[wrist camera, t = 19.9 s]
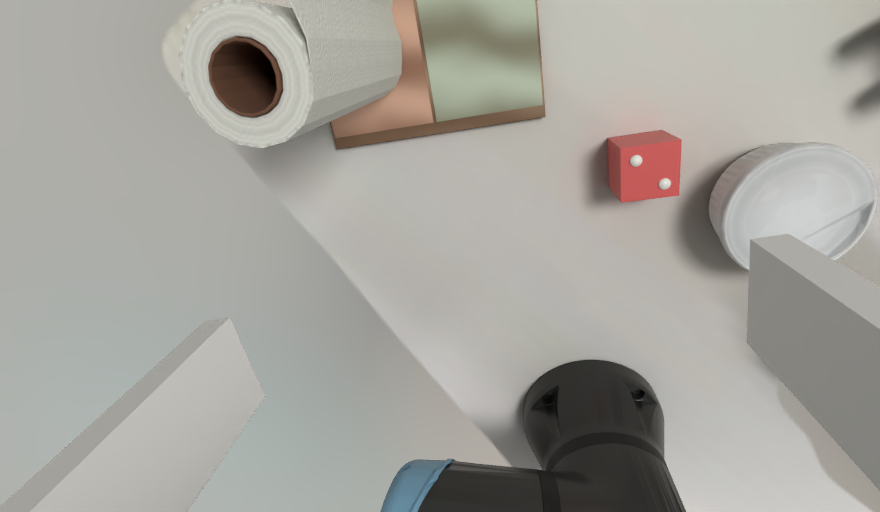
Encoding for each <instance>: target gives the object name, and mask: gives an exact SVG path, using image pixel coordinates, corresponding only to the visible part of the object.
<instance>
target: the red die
mask: <svg viewBox="0 0 880 512" xmlns="http://www.w3.org/2000/svg"><path fill="white" fill-rule="evenodd" d="M680 161H681V139H679V138H677V137H675V136H673V135H671V134H669V133H667V132H665V131H663V130H659V131H652V132H645V133H638V134H631V135H625V136H618V137H611V138H608V173H609V188H610V189H611V191H612V192H613V193H614V194H615V196H616V197H617V198H618V199H619V200H620V202H629V201H637V200H645V199H653V198H662V197H670V196H678V195H679V185H680Z"/></svg>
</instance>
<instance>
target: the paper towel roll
mask: <svg viewBox="0 0 880 512" xmlns="http://www.w3.org/2000/svg"><path fill="white" fill-rule="evenodd" d="M289 2H290V4H291V6H292V8H288V7H282V6H277V5H271V4H266V3H260V2H254V1H246V0H222V1H220V2H217V3H215V4H212V5H209V6H207V7H204V8H202V9H201V11H200V12H199V13H198V14H197V15H196V17H195V18H194V19H193V20H192V21H191V23H190V24H189V25H188V26H187V27H186V29H185V33H184V37H183V41H182V45H181V49H180V53H179V60H180V68H181V76H182V84H183V86H184V88H185V90H186V92H187V94H188V97H189V99H190V101H191V103H192V105H193V107H194V109H195V111H196V112H197V113H198V114H199V115H200V116H201V117H202V118H203V120H204V121H205V122H206V123H207V124H208V125H209V126H210V127H211V128H212V129H213V130H214V131H215V132H216V133H218V134H220V135H222V136H223V137H225V138H227V139H229V140H231V141H233V142H234V143H236V144H238V145H244V146H251V147H258V148H267V147H270V146H274V145H277V144H280V143H284V142H287V141H289V140H291V139H294V138H296V137H298V136H300V135H302V134H304V133H307V132H309V131H311V130H313V129H315V128H317V127H320V126H322V125H324V124H326V123H328V122H330V121H332V120H335V119H337V118H339V117H341V116H343V115H345V114H348V113H350V112H352V111H354V110H356V109H358V108H360V107H363V106H365V105H367V104H369V103H371V102H373V101H376V100H378V99H380V98H382V97H384V96H386V95H387V94H388V93H389V92H390V91H391V90H393V89H394V88H395V87H396V85H397V83H398V80H399V78H400V76H401V74H402V41H401V38H400V36H399V33H398V31H397V28H396V25H395V23H394V17H393V11H392V5H393V0H289Z"/></svg>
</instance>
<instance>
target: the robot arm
mask: <svg viewBox="0 0 880 512" xmlns="http://www.w3.org/2000/svg"><path fill="white" fill-rule="evenodd" d="M747 343H748V345H749V346H750V347H751V348H752V349H753V350H754V351H755V352H756V353H757V355H758V356H759V357H760V358H761V359H762V360H763V361H764V362H765V363H766V365H767V366H768V367H769V368H770V369H771V370H772V371H773V372H774V373H775V375H776V376H777V377H778V378H779V379H780V380H781V381H782V382H783V383H784V385H785V386H786V387H787V388H788V389H789V390H790V391H791V392H792V393H793V394H794V396H795V397H796V398H797V399H798V400H799V401H800V402H801V404H803V406H804V407H805V408H806V409H807V410H808V411H809V412H810V414H811V415H812V416H813V417H814V418H815V419H816V420H817V421H818V422H819V424H820V425H821V426H822V427H823V428H824V429H825V430H826V431H827V432H828V433H829V435H830V436H831V437H832V438H833V439H834V440H835V441H836V442H837V444H838V445H839V446H840V447H841V448H842V449H843V450H844V451H845V452H846V454H847V455H848V456H849V457H850V458H851V459H852V460H853V461H854V462H855V464H856V465H857V466H858V467H859V468H860V469H861V470H862V471H863V473H864V474H865V475H866V476H867V477H868V478H869V479H870V480H871V481H872V483H873V484H874V485H875V486H876V487H877V488H878V489H879V490H880V287H879V286H877V285H875V284H874V283H872V282H870V281H868V280H867V279H865V278H863V277H862V276H860V275H858V274H856V273H855V272H853V271H851V270H850V269H848V268H846V267H845V266H843V265H841V264H839V263H838V262H836V261H834V260H833V259H831V258H829V257H827V256H826V255H824V254H822V253H821V252H819V251H817V250H816V249H814V248H812V247H810V246H809V245H807V244H805V243H804V242H802V241H800V240H798V239H797V238H795V237H793V236H792V235H790V234H782V235H775V236H769V237H762V238H755V239H750V262H749V291H748V320H747ZM264 398H265V395H264V393H263V391H262V389H261V386H260V384H259V382H258V379H257V377H256V375H255V373H254V371H253V368H252V366H251V364H250V361H249V359H248V357H247V355H246V353H245V350H244V348H243V346H242V344H241V342H240V339H239V337H238V335H237V332H236V330H235V328H234V326H233V323H232V321H231V319H230V318H223V319H216V320H210V321H205V322H204V323H203V324H202V325H201V326H199V328H197V329H196V330H195V331H194V332H193V333H192V334H191V335H190V336H188V337H187V338H186V339H185V340H184V341H183V342H182V343H181V344H180V345H178V346H177V347H176V348H175V349H174V350H173V351H172V352H171V353H170V354H168V355H167V356H166V357H165V358H164V359H163V360H162V361H161V362H160V363H159V364H157V365H156V366H155V367H154V368H153V369H152V370H151V371H150V372H149V373H147V374H146V375H145V376H144V377H143V378H142V379H141V380H140V381H139V382H137V383H136V384H135V385H134V386H133V387H132V388H131V389H130V390H129V391H127V392H126V393H125V394H124V395H123V396H122V397H121V398H120V399H119V400H118V401H116V402H115V403H114V404H113V405H112V406H111V407H110V408H109V409H108V410H107V411H105V412H104V413H103V414H102V415H101V416H100V417H99V418H98V419H96V420H95V421H94V422H93V423H92V424H91V425H90V426H89V427H88V428H86V429H85V430H84V431H83V432H82V433H81V434H80V435H79V436H78V437H77V438H75V439H74V440H73V441H72V442H71V443H70V444H69V445H68V446H67V447H65V448H64V449H63V450H62V451H61V452H60V453H59V454H58V455H57V456H55V457H54V458H53V459H52V460H51V461H50V462H49V463H48V464H47V465H46V466H45V467H43V468H42V469H41V470H40V471H39V472H38V473H37V474H36V475H34V476H33V477H32V478H31V479H30V480H29V481H28V482H27V483H26V484H24V486H22V487H21V488H20V489H19V490H18V491H17V492H16V493H15V494H14V495H12V496H11V497H10V498H9V499H8V500H7V501H6V502H5V503H3V504H2V505H1V506H0V512H187V511H188V510H189V508H190V507H191V505H192V504H193V502H194V501H195V499H196V498H197V496H198V495H199V493H200V492H201V490H202V489H203V488H204V486H205V485H206V483H207V482H208V480H209V479H210V477H211V476H212V474H213V473H214V471H215V470H216V468H217V467H218V465H219V464H220V462H221V461H222V460H223V458H224V457H225V455H226V454H227V452H228V451H229V449H230V448H231V446H232V445H233V443H234V442H235V440H236V439H237V438H238V436H239V434H240V433H241V432H242V430H243V428H244V427H245V426H246V424H247V423H248V421H249V420H250V418H251V417H252V416H253V414H254V412H255V411H256V410H257V408H258V406H259V405H260V404H261V402H262V401H263V399H264ZM523 420H524V430H525V434H526V438H527V440H528V443H529V445H530V447H531V449H532V451H533V452H534V454H535V456H536V458H537V460H538V462H539V464H540V466H541V468H542V470H536V469H526V468H516V467H504V466H493V465H483V464H474V463H465V462H457V461H455V460H453V459H447V460H445V461H443V460H441V461H440V460H413V461H411V462H408V463H407V464H405V465H404V466H403V467H402V468H401V469H400V470H399V472H398V473H397V475H396V476H395V478H394V479H393V481H392V484H391V486H390V488H389V490H388V493H387V495H386V498H385V500H384V503H383V506H382V509H381V512H686V510H685V508H684V505H683V503H682V501H681V498H680V496H679V493H678V491H677V489H676V486H675V484H674V482H673V479H672V477H671V474H670V472H669V470H668V467H667V465H666V462H665V460H664V416H663V412H662V408H661V406H660V403H659V401H658V399H657V397H656V395H655V393H654V390H653V389H652V387H651V386H650V384H649V383H648V382H647V381H646V380H645V379H644V378H643V377H642V376H641V375H639V374H638V373H636V372H635V371H633V370H631V369H629V368H627V367H625V366H623V365H620V364H617V363H613V362H608V361H599V360H586V361H578V362H573V363H569V364H565V365H562V366H560V367H557V368H555V369H553V370H551V371H550V372H548V373H546V374H545V375H543V376H542V377H541V378H540V379H539V380H538V381H537V382H536V383H535V384H534V385H533V386H532V387H531V389H530V390H529V392H528V394H527V396H526V398H525V401H524V405H523Z"/></svg>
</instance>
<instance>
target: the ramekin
mask: <svg viewBox="0 0 880 512" xmlns="http://www.w3.org/2000/svg"><path fill="white" fill-rule="evenodd" d="M877 194H878V193H877V185H876V181H875V178H874V175H873V173H872V171H871V169H870V168H869V166H868V165H867V164H866V163H865V162H864V161H863V160H862V159H861V158H860V157H858V156H857V155H856V154H854V153H852V152H851V151H849V150H846V149H844V148H841V147H838V146H835V145H831V144H826V143H817V142H809V143H778V144H771V145H767V146H763V147H760V148H758V149H755V150H753V151H751V152H749V153H747V154H745V155H743V156H742V157H740V158H738V159H737V160H736V161H735V162H733V163H732V164H731V165H730V166H729V167H728V168H727V169H726V170H725V171H724V172H723V173H722V174H721V176H720V178H719V179H718V180H717V182H716V185H715V186H714V188H713V191H712V193H711V197H710V201H709V216H710V221H711V223H712V225H713V228H714V230H715V231H716V233H717V235H718V236H719V238H720V240H721V243H722V245H723V247H724V249H725V251H726V252H727V254H728V255H729V256H730V257H731V258H732V259H733V260H734V261H735V262H736V263H737V264H738V265H739V266H740V267H742V268H744V269H746V270H747V271H749V262H750V239H755V238H762V237H769V236H775V235H782V234H790V235H792V236H793V237H795V238H797V239H798V240H800V241H802V242H804V243H805V244H807V245H809V246H810V247H812V248H814V249H816V250H817V251H819V252H821V253H822V254H824V255H826V256H827V257H829V258H831V259H833V260H834V261H835V260H837V259H838V258H840V257H841V256H842V255H844V254H845V253H846V252H847V251H848V250H850V249H851V248H852V247H853V246H854V245H855V244H856V243H857V242H858V240H859V239H860V238H861V237H862V236H863V234H864V233H865V231H866V230H867V228H868V226H869V225H870V223H871V221H872V219H873V216H874V213H875V210H876V205H877V197H878V195H877Z"/></svg>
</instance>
